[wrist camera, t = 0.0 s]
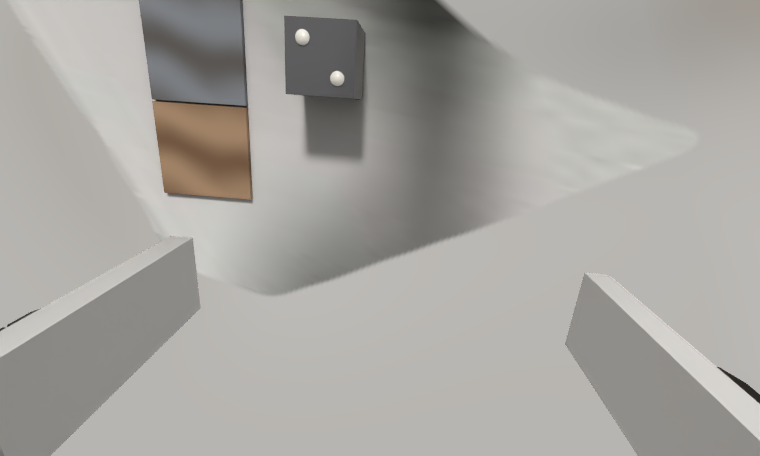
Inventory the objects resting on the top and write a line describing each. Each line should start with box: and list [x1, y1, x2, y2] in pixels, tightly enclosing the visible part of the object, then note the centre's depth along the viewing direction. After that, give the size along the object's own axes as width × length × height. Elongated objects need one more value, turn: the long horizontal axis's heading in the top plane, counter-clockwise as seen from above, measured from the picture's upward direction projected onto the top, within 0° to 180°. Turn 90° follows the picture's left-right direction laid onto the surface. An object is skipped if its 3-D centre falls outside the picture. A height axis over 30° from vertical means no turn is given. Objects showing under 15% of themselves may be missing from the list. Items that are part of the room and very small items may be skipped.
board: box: [139, 0, 252, 200], centre depth 36 cm, size 30×10×1 cm, turn 176°
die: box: [284, 16, 365, 99], centre depth 33 cm, size 6×6×6 cm
